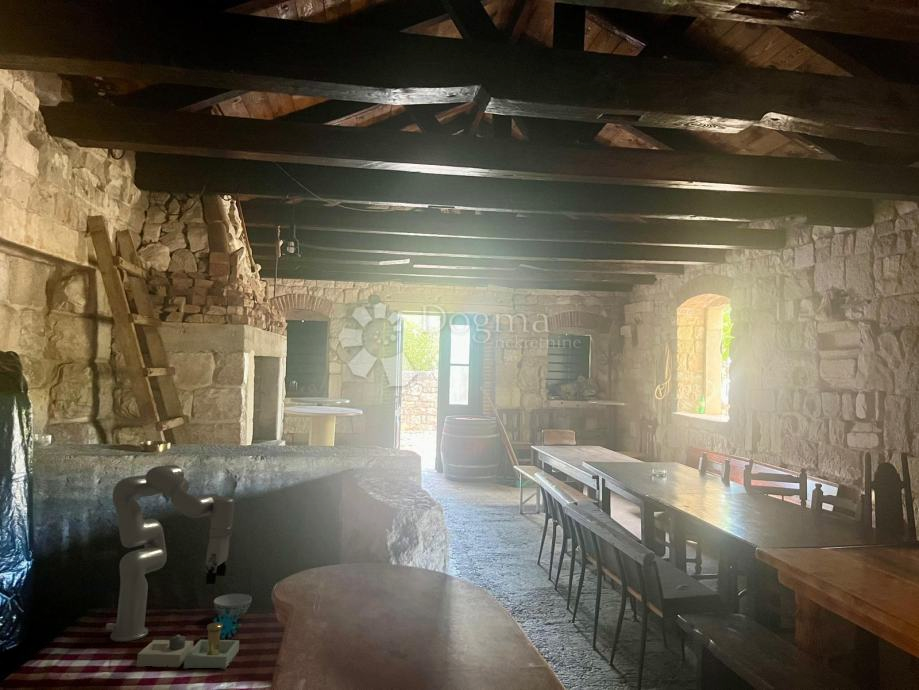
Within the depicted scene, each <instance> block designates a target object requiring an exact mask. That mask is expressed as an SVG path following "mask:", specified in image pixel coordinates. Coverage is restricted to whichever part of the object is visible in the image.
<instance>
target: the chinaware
mask: <svg viewBox="0 0 919 690" xmlns="http://www.w3.org/2000/svg"><path fill="white" fill-rule="evenodd" d="M252 600H253V598H252V596H251V595H249V594H243V593H231V594H225V595H224V594H223V595H220V596H218V597H216V598H215V599H214V600H213V605H214V610H215V612H216V613H217V614H218V615H222V617H221V618H222V619H223V618H224V615H225V613H227V614H228V616H227V617H225V618H226V619H227V618H229V617H230V616H231V615H233V616H234V617H233V619H229V620H234V619H238V620H240V619H239V618H241V616H243V615H244V614H245V613H246V612H247V611H248V610H249V607H250V606H251V604H252Z"/></svg>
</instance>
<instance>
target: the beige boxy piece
mask: <svg viewBox="0 0 919 690" xmlns="http://www.w3.org/2000/svg"><path fill="white" fill-rule="evenodd" d="M193 647H194V640H186V636H185V635H181V634H176V635H174V636H171V637H170V638H169V639H153V640H152V642H150V643H148V645H147V646H145V647H144V648H143V649H142V650H140V652H138V653H137V660H136V667H145V666H152V667H153V666H154V667H155V668H156V667H157V668H160V667H161V668H162V667H163V668H164V667H165V668H179V667H180V666H182V664H184V659H185V655H186V654H187V653H188V652H189V651H190V650H191V649H192V648H193ZM167 666H168V667H167Z"/></svg>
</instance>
